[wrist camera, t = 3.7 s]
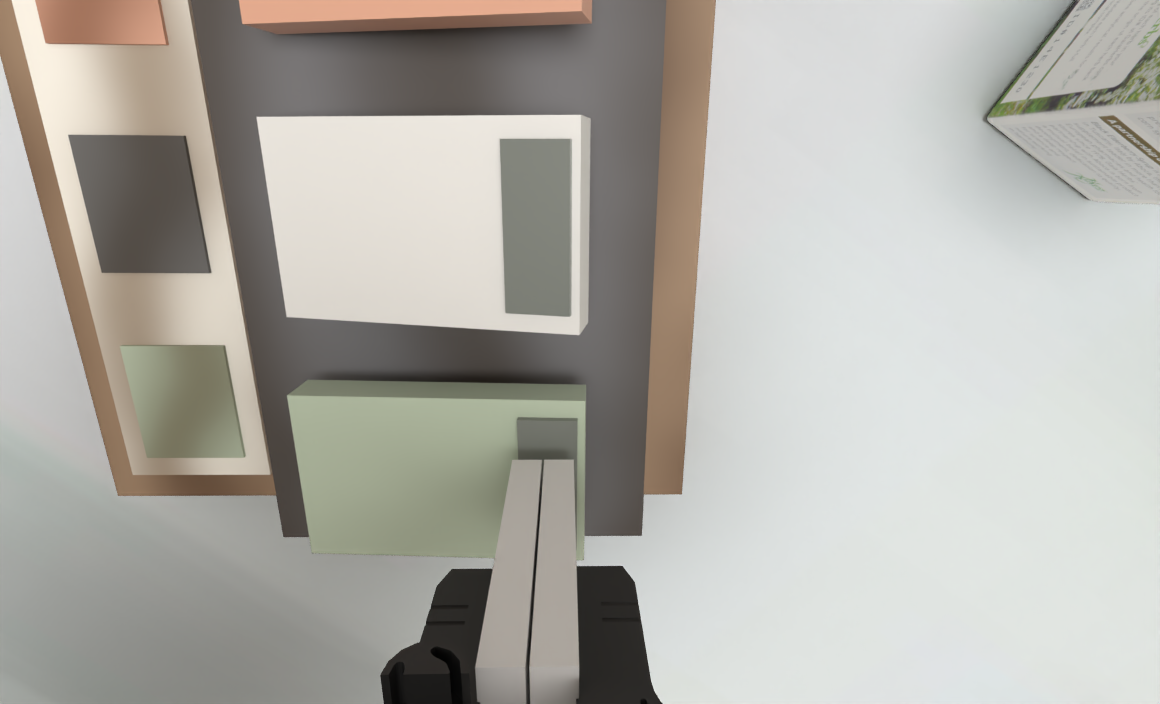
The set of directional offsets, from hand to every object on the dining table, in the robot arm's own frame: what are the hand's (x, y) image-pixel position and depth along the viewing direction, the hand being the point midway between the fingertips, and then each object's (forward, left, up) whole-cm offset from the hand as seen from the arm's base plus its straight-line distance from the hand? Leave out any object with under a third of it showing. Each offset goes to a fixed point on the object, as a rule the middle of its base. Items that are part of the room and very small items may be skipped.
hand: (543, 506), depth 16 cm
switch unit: (-6, +7, -9) cm, 13 cm away
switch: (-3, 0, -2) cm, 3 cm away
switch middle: (-3, +7, -2) cm, 8 cm away
